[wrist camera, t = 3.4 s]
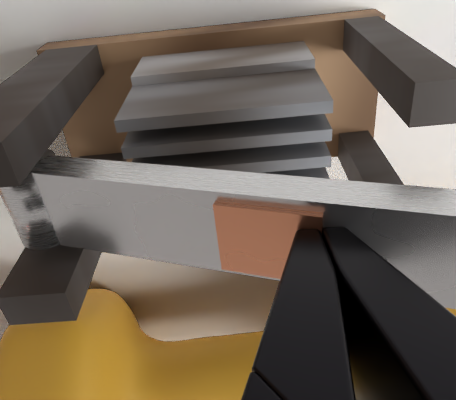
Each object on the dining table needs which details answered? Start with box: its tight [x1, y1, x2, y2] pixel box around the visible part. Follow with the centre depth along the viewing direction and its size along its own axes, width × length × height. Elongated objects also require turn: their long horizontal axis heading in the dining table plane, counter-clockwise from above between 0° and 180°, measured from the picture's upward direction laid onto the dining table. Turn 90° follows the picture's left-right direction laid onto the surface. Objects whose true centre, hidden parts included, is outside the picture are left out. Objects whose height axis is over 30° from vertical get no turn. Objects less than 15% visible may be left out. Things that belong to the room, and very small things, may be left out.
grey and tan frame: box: [0, 9, 456, 325], centre depth 12 cm, size 11×5×8 cm, turn 95°
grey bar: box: [0, 149, 456, 309], centre depth 9 cm, size 10×2×1 cm, turn 96°
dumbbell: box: [0, 289, 456, 400], centre depth 18 cm, size 19×9×8 cm, turn 99°
